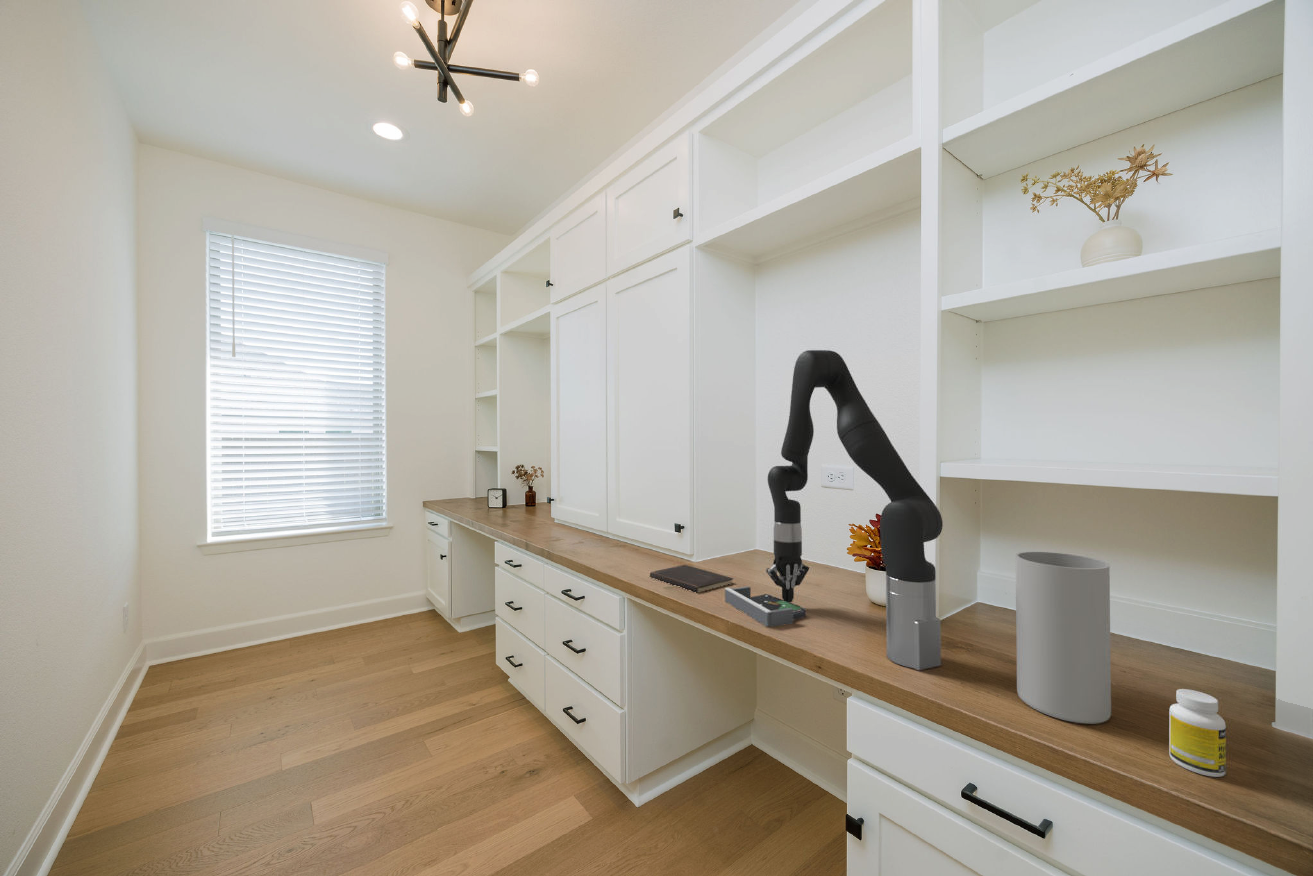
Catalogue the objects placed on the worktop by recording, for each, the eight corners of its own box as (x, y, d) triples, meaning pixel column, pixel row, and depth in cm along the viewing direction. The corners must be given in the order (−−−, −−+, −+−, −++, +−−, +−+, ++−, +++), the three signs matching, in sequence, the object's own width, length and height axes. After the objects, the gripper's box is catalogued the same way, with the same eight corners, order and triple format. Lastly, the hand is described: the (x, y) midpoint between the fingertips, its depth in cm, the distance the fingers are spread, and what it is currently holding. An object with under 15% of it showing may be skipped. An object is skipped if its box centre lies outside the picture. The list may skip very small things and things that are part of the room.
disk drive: (738, 609, 137) (778, 625, 125) (738, 599, 137) (778, 614, 125) (766, 603, 143) (807, 618, 130) (766, 593, 143) (806, 607, 130)
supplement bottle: (1230, 784, 66) (1229, 710, 66) (1171, 766, 70) (1170, 696, 70) (1222, 764, 70) (1221, 694, 70) (1167, 748, 74) (1166, 682, 74)
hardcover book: (684, 571, 178) (684, 564, 178) (733, 585, 160) (733, 578, 160) (649, 579, 168) (649, 572, 168) (697, 595, 150) (697, 587, 150)
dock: (793, 623, 125) (793, 608, 125) (767, 627, 123) (767, 611, 123) (748, 598, 145) (748, 585, 145) (725, 601, 143) (725, 588, 143)
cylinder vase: (1023, 681, 95) (1021, 548, 95) (1112, 704, 86) (1110, 559, 86) (1011, 706, 86) (1009, 560, 86) (1109, 736, 77) (1107, 573, 77)
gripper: (774, 542, 132) (775, 608, 132) (816, 539, 136) (816, 602, 136) (759, 537, 139) (759, 600, 139) (799, 534, 143) (799, 594, 143)
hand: (788, 601), depth 138 cm, fingers closed
